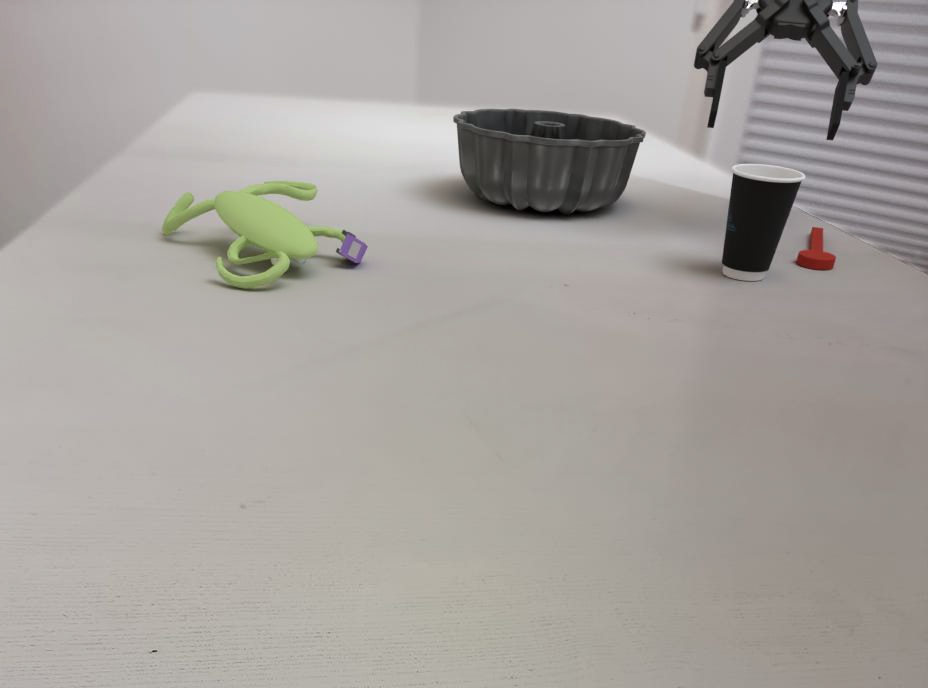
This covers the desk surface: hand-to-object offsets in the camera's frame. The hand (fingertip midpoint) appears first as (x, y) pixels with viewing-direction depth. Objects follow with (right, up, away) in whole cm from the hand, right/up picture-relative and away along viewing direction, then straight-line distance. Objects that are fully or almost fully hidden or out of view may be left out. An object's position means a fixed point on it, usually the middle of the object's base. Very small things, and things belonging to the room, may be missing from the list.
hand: (771, 126), depth 105 cm
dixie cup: (-3, -17, +2) cm, 17 cm away
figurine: (-58, -15, -1) cm, 60 cm away
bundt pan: (-24, +4, +26) cm, 35 cm away
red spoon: (+10, -9, +12) cm, 18 cm away
